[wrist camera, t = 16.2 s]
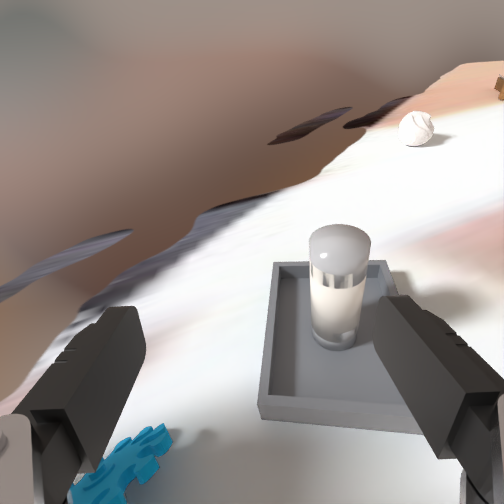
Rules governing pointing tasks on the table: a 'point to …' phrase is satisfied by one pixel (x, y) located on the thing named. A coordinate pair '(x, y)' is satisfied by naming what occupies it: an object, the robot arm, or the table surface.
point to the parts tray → (327, 361)
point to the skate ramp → (500, 87)
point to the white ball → (415, 128)
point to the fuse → (337, 284)
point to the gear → (123, 468)
